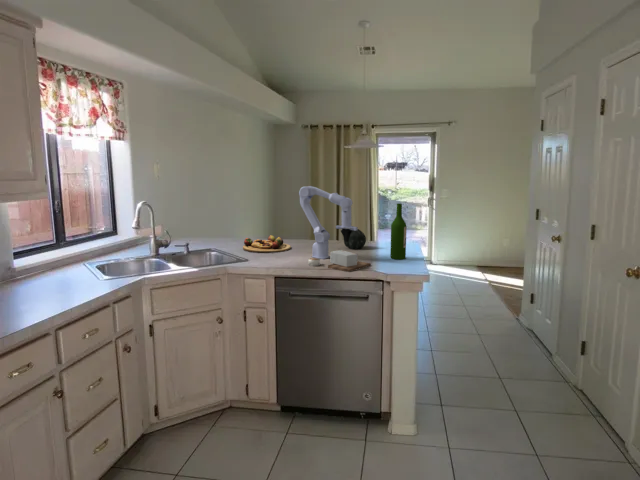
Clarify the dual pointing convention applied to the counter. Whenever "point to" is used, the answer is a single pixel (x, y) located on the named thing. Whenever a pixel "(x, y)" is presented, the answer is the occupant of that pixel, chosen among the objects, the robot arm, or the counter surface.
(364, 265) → the cutting board
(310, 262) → the ramekin
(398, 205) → the wine bottle
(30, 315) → the counter surface
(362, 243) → the squash
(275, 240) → the wooden plate with food
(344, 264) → the small box
